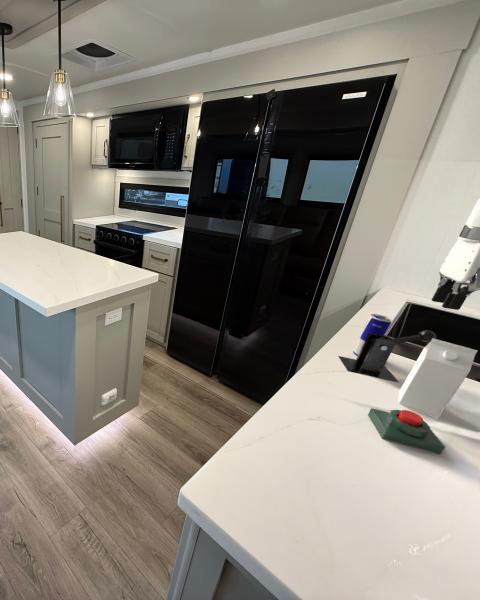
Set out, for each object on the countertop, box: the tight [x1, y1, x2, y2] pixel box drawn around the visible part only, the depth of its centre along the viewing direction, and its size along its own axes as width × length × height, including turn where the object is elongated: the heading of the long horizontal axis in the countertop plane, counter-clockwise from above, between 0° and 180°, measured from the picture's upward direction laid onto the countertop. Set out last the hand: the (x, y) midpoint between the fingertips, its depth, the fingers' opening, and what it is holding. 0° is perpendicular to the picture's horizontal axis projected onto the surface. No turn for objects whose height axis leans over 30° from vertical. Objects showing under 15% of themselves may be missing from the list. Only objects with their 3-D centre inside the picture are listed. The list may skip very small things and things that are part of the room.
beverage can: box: [352, 313, 393, 357], centre depth 97 cm, size 5×5×15 cm
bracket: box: [337, 333, 400, 384], centre depth 91 cm, size 12×9×12 cm
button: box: [398, 409, 424, 428], centre depth 69 cm, size 4×4×2 cm
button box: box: [367, 407, 446, 455], centre depth 70 cm, size 10×8×4 cm
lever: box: [371, 329, 437, 344], centre depth 87 cm, size 13×3×3 cm, turn 67°
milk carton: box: [397, 338, 478, 419], centre depth 76 cm, size 7×7×19 cm
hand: (444, 304), depth 81 cm, fingers open, 3 cm apart
